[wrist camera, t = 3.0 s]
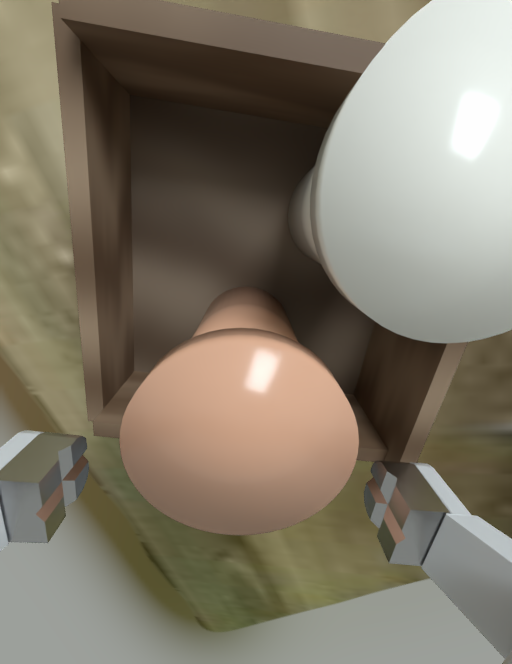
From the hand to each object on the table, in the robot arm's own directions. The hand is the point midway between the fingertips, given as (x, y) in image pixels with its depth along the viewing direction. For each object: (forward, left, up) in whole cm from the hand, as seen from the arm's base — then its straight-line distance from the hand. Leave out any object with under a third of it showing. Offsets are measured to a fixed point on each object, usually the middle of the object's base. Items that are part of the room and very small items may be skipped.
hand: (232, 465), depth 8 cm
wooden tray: (-4, +1, -10) cm, 11 cm away
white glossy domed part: (-8, +4, -10) cm, 13 cm away
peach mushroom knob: (-1, 0, -10) cm, 10 cm away
